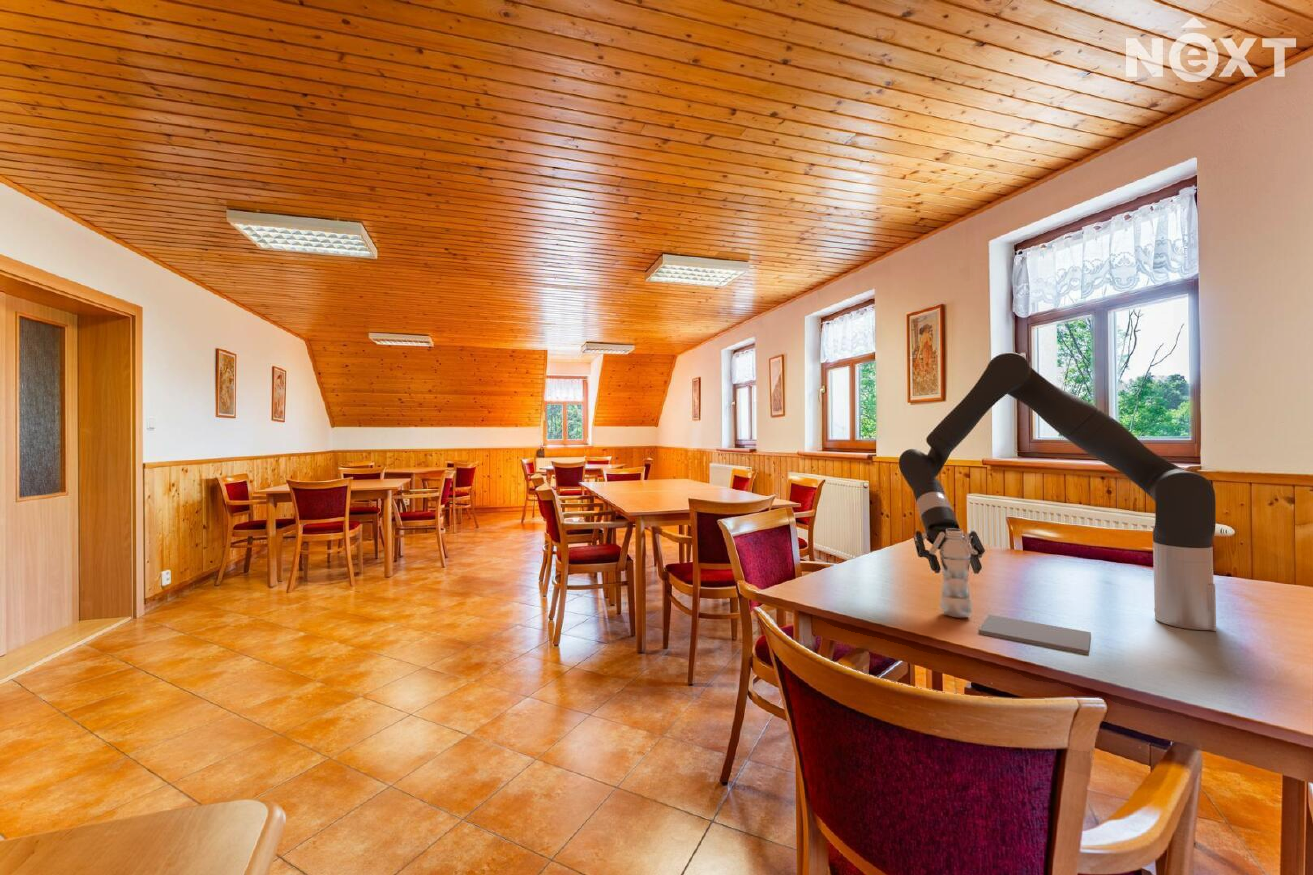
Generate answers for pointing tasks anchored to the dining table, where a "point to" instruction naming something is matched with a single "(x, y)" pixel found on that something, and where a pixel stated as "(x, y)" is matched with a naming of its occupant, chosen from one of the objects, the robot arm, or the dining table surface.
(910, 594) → the dining table surface
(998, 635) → the grey rubber mat
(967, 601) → the plastic bottle
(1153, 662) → the dining table surface
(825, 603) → the dining table surface
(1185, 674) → the dining table surface
